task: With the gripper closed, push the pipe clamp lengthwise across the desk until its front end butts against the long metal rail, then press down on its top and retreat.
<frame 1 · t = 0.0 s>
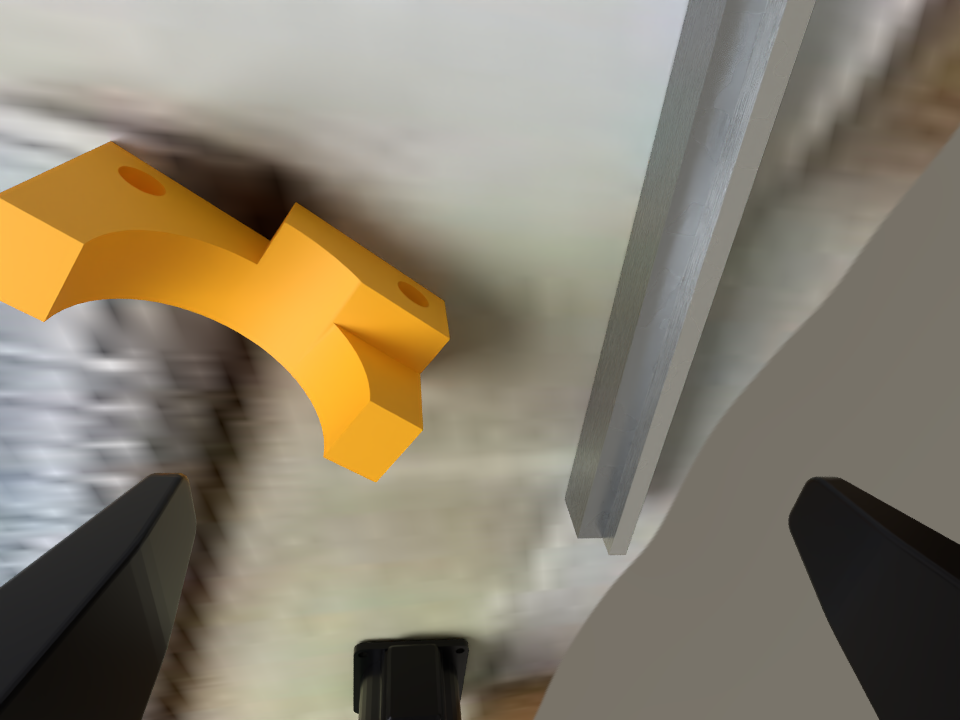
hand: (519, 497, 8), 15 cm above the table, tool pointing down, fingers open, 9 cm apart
pipe clamp: (278, 253, 22), on the table
rail: (644, 277, 23), on the table
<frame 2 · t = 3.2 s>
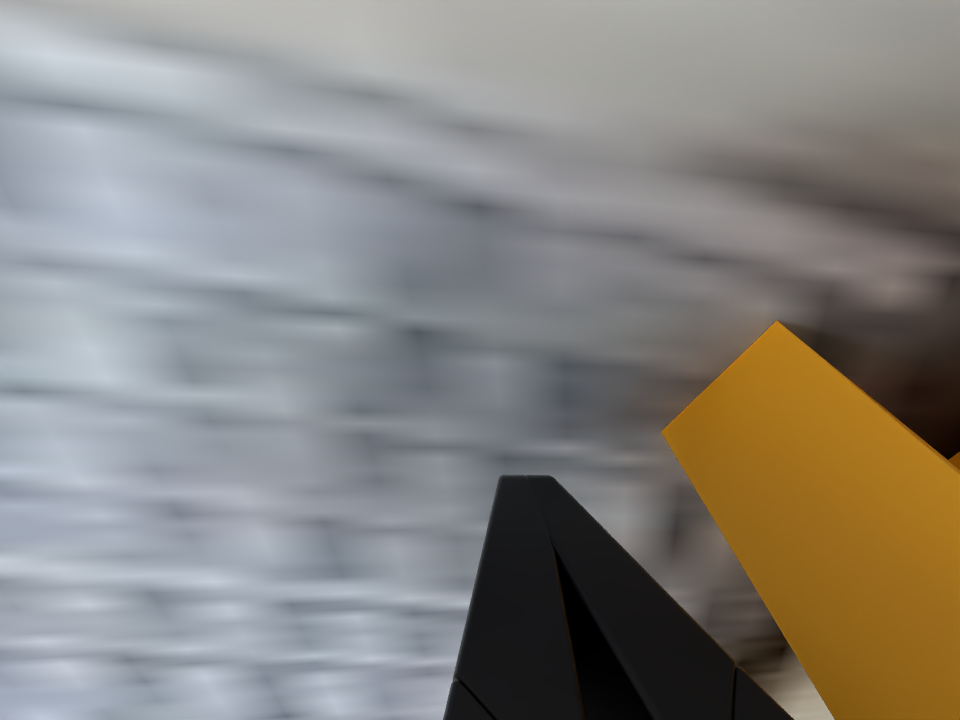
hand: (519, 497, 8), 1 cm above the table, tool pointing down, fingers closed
pipe clamp: (929, 473, 12), on the table, touching gripper
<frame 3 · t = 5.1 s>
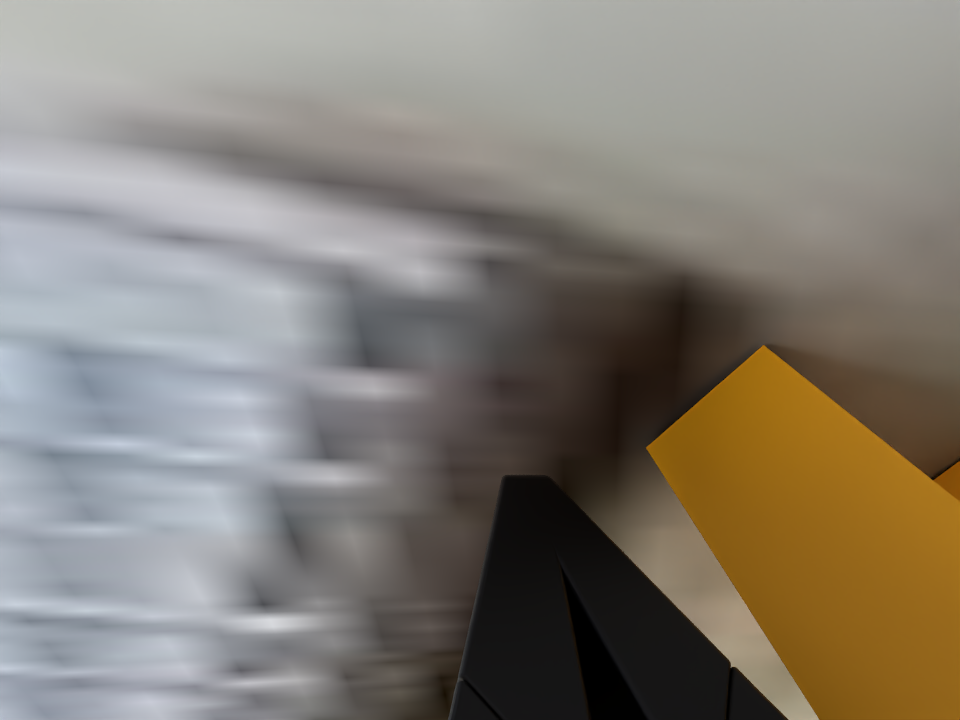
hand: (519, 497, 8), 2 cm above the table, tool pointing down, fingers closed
pipe clamp: (894, 513, 12), on the table, touching gripper
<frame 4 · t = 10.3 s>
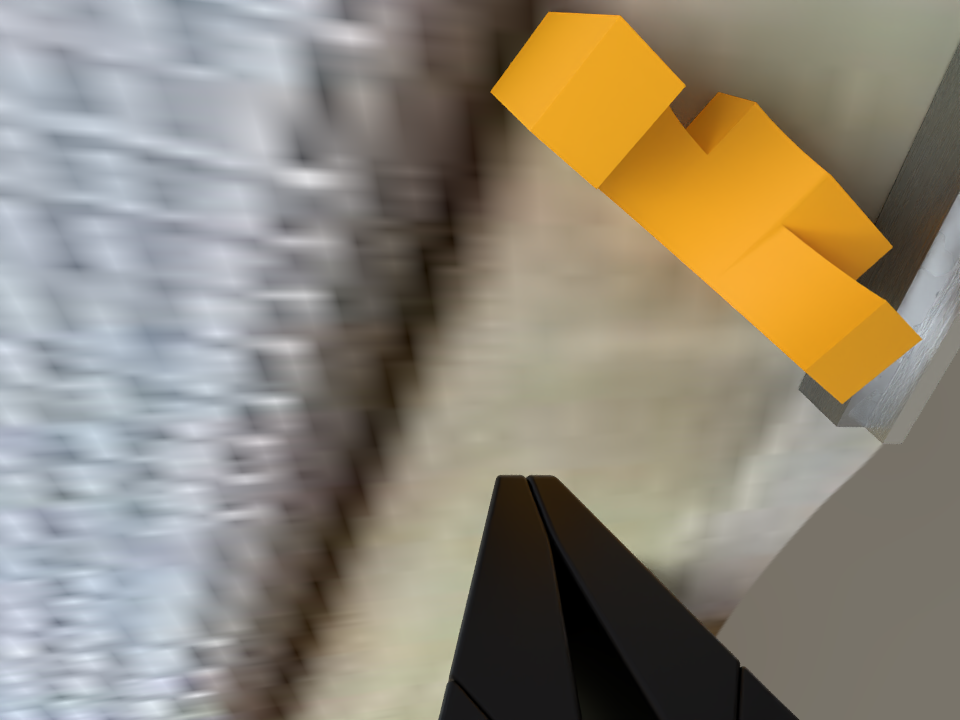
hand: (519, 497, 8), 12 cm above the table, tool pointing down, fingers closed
pipe clamp: (671, 156, 19), on the table
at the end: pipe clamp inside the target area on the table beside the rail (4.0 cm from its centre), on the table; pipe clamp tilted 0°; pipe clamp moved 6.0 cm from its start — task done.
